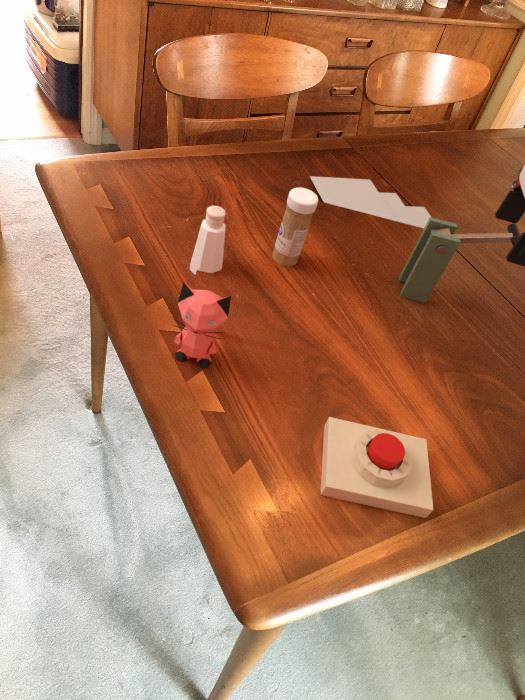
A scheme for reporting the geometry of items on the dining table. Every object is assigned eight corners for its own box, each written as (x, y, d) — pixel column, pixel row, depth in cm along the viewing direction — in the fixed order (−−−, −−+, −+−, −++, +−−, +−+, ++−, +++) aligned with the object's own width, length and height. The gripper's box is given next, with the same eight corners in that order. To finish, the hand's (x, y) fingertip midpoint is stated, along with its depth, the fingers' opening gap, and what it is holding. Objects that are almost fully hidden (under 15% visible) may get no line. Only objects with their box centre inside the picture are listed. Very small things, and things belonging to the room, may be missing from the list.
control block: (419, 448, 73) (432, 431, 70) (425, 518, 66) (440, 503, 63) (324, 426, 72) (333, 408, 69) (320, 495, 65) (330, 478, 62)
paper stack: (407, 184, 120) (409, 181, 120) (462, 259, 105) (463, 256, 105) (308, 179, 113) (309, 176, 112) (351, 259, 97) (353, 256, 97)
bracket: (439, 287, 98) (478, 222, 88) (444, 322, 91) (487, 256, 82) (374, 270, 97) (405, 203, 87) (375, 304, 91) (409, 236, 81)
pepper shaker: (212, 285, 85) (224, 226, 77) (182, 270, 86) (190, 210, 78) (228, 267, 89) (241, 209, 81) (199, 253, 90) (209, 194, 82)
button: (398, 444, 68) (404, 437, 66) (400, 473, 65) (406, 465, 64) (367, 437, 67) (372, 429, 66) (367, 465, 65) (372, 458, 63)
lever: (515, 233, 86) (518, 220, 85) (522, 254, 83) (526, 241, 81) (428, 235, 88) (429, 222, 87) (431, 256, 85) (432, 242, 83)
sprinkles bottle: (265, 257, 93) (284, 187, 83) (288, 254, 95) (310, 185, 85) (277, 275, 90) (298, 204, 81) (301, 271, 92) (324, 202, 83)
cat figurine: (162, 365, 73) (170, 298, 64) (177, 329, 78) (186, 263, 69) (214, 379, 73) (229, 315, 64) (225, 343, 78) (241, 279, 69)
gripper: (658, 161, 54) (551, 290, 66) (608, 92, 66) (526, 212, 78) (586, 139, 53) (492, 273, 66) (549, 73, 65) (475, 197, 78)
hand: (510, 240), depth 72 cm, fingers open, 9 cm apart
